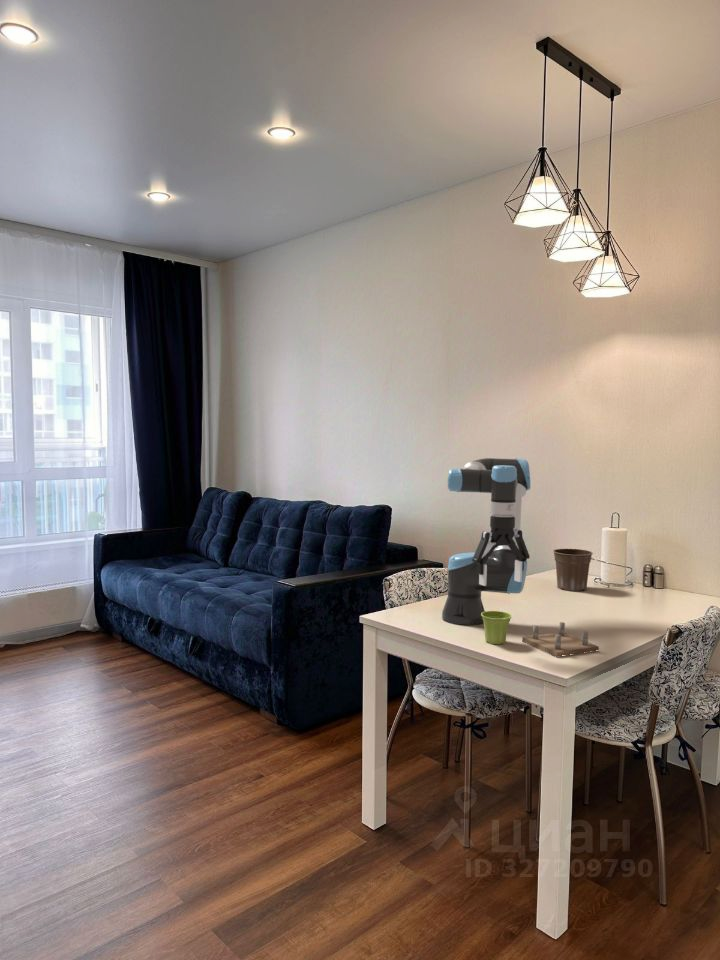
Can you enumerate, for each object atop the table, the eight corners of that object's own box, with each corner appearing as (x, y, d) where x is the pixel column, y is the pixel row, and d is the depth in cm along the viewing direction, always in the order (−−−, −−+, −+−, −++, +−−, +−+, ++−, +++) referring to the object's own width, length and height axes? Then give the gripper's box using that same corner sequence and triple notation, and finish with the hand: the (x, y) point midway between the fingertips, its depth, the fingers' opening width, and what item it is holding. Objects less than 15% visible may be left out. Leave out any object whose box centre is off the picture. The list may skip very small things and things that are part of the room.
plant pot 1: (509, 647, 205) (510, 619, 204) (478, 644, 207) (479, 616, 207) (511, 639, 214) (512, 612, 213) (481, 636, 216) (482, 609, 216)
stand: (522, 641, 211) (522, 624, 211) (562, 636, 218) (563, 619, 217) (556, 657, 197) (557, 638, 196) (598, 651, 203) (599, 633, 203)
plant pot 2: (557, 592, 283) (558, 554, 282) (547, 583, 299) (549, 547, 298) (596, 593, 282) (597, 555, 281) (584, 584, 298) (586, 548, 297)
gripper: (476, 518, 199) (474, 589, 201) (542, 515, 210) (540, 582, 212) (462, 515, 206) (460, 583, 207) (526, 512, 217) (524, 577, 218)
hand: (500, 583), depth 209 cm, fingers open, 13 cm apart
